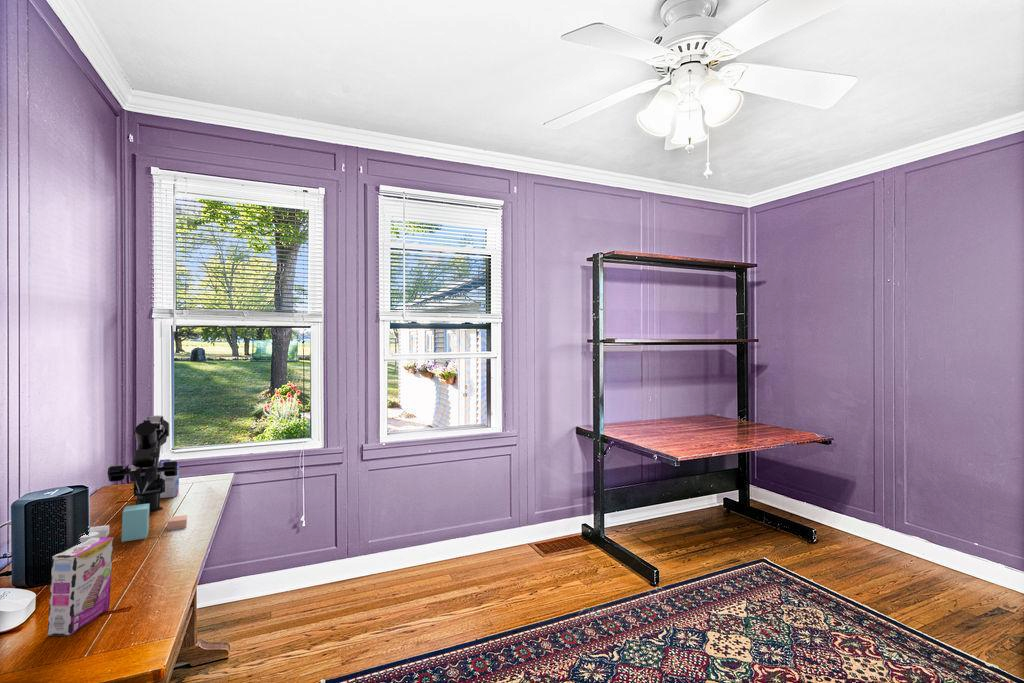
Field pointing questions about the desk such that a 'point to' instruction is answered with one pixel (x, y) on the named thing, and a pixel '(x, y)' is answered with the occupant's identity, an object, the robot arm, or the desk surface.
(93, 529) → the pale grey block
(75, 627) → the candy bar box
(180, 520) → the terracotta block
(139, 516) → the teal upright rectangular block
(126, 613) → the desk surface
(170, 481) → the ink cartridge box
